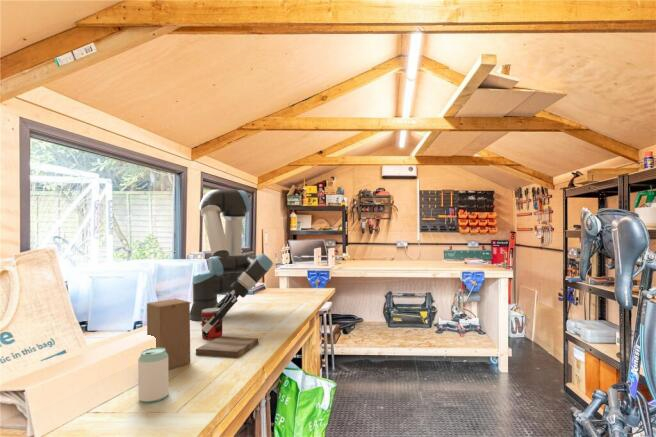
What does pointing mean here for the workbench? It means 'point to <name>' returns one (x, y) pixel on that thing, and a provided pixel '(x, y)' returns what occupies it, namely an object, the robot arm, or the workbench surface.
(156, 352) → the can
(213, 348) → the walnut board
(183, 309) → the wooden block
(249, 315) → the workbench surface
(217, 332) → the canned food
